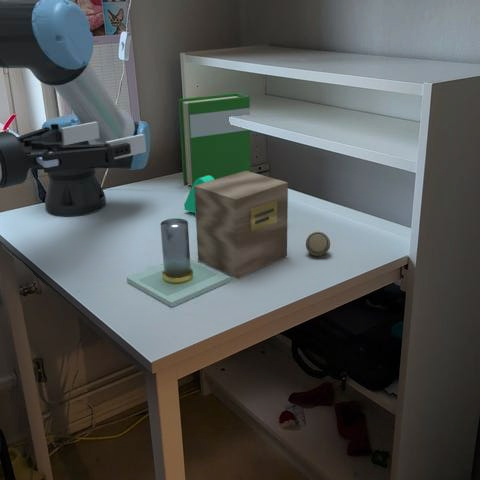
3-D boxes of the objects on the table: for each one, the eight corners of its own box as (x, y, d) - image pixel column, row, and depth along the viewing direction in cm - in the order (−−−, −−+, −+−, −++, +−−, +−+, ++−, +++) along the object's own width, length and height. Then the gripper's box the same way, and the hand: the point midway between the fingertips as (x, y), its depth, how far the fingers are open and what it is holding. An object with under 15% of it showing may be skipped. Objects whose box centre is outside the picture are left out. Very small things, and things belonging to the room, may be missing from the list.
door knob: (300, 254, 126) (301, 231, 124) (318, 248, 129) (319, 226, 127) (316, 262, 123) (317, 239, 121) (334, 255, 125) (335, 233, 123)
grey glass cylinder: (156, 277, 115) (152, 223, 111) (180, 267, 119) (177, 215, 115) (175, 286, 111) (171, 231, 107) (199, 276, 115) (196, 223, 111)
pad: (127, 282, 116) (126, 277, 116) (184, 259, 125) (184, 255, 124) (171, 307, 107) (171, 302, 106) (230, 281, 115) (230, 276, 115)
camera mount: (241, 216, 148) (240, 175, 144) (219, 225, 143) (218, 183, 139) (206, 205, 155) (204, 167, 151) (184, 213, 150) (182, 174, 146)
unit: (198, 259, 125) (194, 185, 118) (246, 240, 133) (245, 170, 127) (239, 278, 116) (238, 200, 110) (289, 257, 125) (289, 183, 119)
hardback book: (193, 191, 165) (189, 103, 156) (183, 184, 172) (178, 99, 162) (250, 181, 173) (249, 96, 163) (238, 175, 179) (237, 92, 169)
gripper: (-38, 171, 94) (83, 145, 108) (35, 209, 78) (168, 173, 91) (-48, 123, 91) (77, 103, 105) (26, 152, 75) (164, 124, 88)
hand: (119, 136), depth 98 cm, fingers open, 13 cm apart
